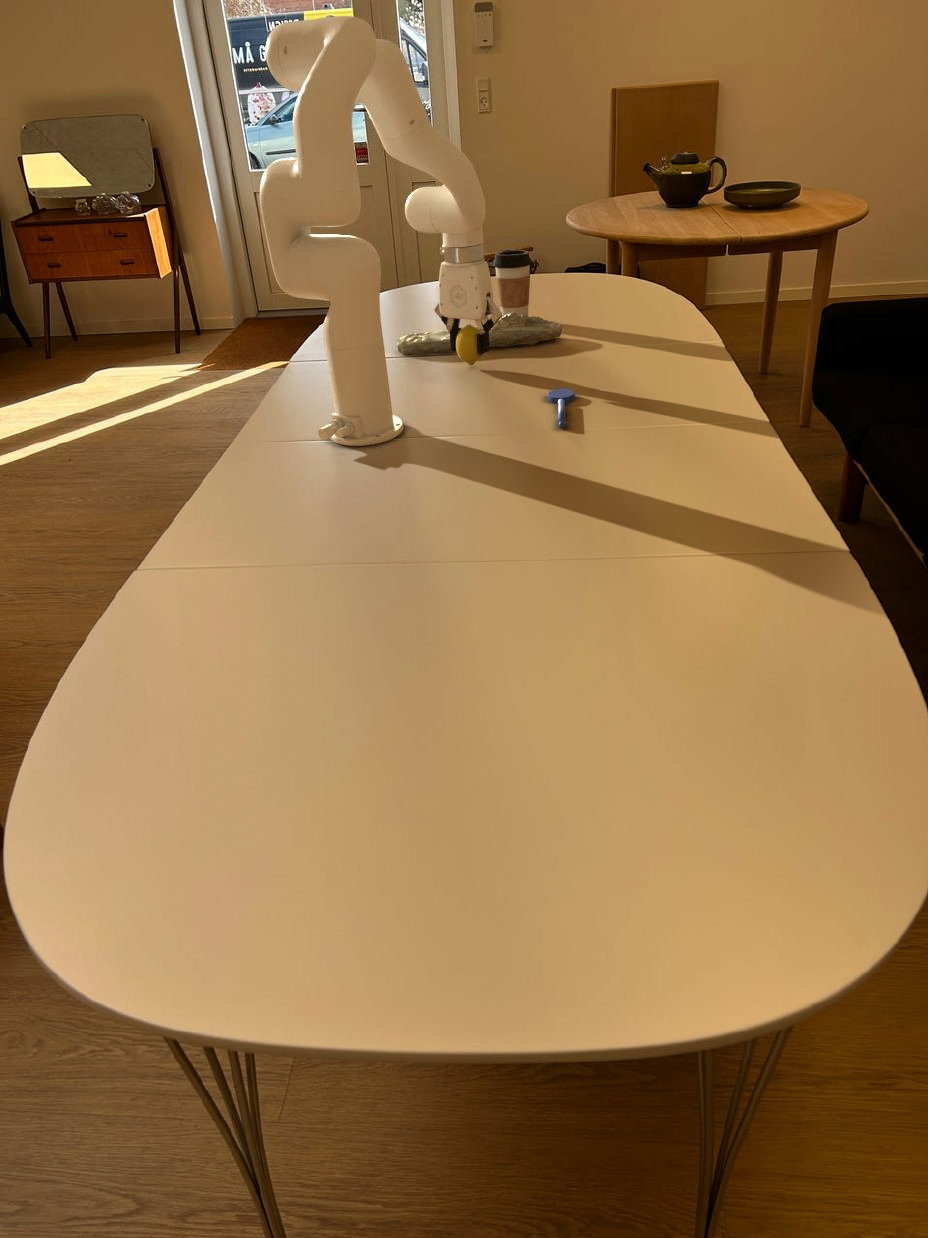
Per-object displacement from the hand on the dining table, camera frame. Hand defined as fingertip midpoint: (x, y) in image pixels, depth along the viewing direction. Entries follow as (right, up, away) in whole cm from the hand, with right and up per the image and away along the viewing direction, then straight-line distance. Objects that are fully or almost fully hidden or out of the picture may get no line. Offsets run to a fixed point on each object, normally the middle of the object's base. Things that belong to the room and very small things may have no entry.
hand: (470, 350), depth 183 cm
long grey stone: (+2, +5, +15) cm, 16 cm away
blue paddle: (+16, -17, -23) cm, 32 cm away
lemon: (0, -3, +2) cm, 3 cm away
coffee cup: (+10, +15, +29) cm, 34 cm away
